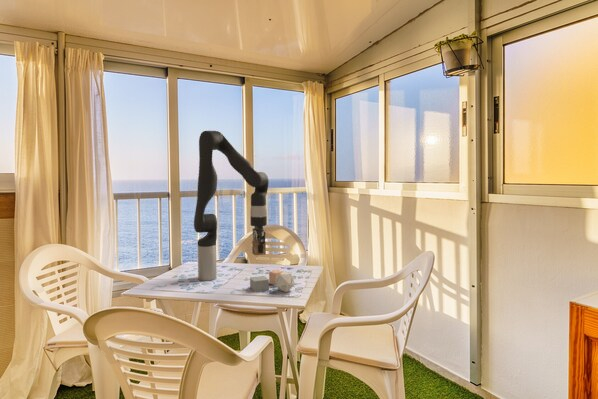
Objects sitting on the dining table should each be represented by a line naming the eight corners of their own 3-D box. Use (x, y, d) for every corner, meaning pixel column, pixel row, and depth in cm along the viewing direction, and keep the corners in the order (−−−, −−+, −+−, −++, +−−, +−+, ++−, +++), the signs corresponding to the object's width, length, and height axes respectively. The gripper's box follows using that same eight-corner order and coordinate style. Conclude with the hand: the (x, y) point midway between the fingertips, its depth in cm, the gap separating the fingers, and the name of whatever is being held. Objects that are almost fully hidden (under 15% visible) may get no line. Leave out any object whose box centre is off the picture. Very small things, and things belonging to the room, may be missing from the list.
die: (276, 295, 164) (290, 278, 162) (267, 282, 170) (280, 265, 168) (289, 298, 170) (301, 281, 168) (279, 284, 176) (292, 268, 174)
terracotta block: (269, 283, 180) (269, 271, 180) (277, 281, 184) (277, 269, 183) (275, 285, 177) (275, 273, 176) (283, 283, 180) (283, 271, 180)
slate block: (250, 287, 174) (250, 277, 173) (264, 286, 176) (264, 275, 176) (254, 292, 167) (254, 281, 167) (269, 290, 170) (268, 279, 170)
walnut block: (252, 253, 172) (252, 240, 172) (262, 252, 174) (262, 239, 174) (255, 255, 168) (255, 242, 167) (265, 254, 169) (265, 241, 169)
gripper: (246, 214, 175) (247, 249, 176) (254, 217, 162) (255, 255, 163) (262, 213, 178) (262, 248, 179) (271, 216, 164) (271, 254, 165)
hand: (259, 251), depth 171 cm, fingers closed on walnut block, 5 cm apart
